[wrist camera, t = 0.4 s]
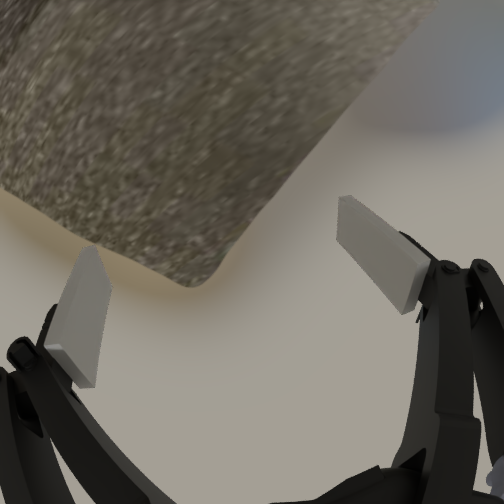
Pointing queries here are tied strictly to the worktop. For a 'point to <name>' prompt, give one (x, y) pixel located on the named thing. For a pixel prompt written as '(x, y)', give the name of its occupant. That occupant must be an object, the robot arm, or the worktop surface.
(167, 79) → the worktop surface
